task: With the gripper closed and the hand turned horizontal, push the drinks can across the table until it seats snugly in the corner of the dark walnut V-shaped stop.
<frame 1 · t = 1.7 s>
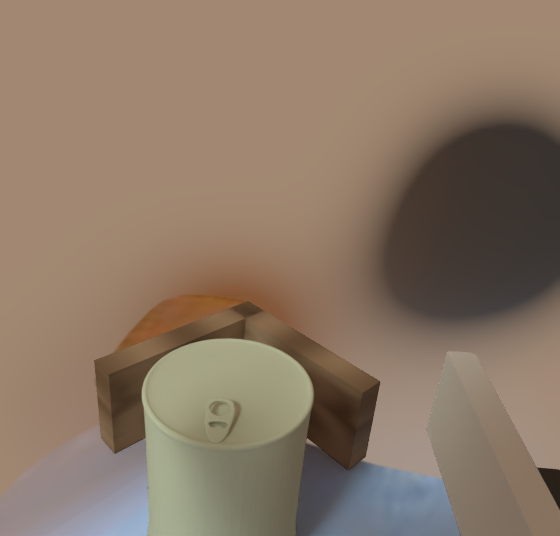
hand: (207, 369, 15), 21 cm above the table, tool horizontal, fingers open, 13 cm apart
v stop: (234, 440, 41), on the table
can: (222, 534, 34), on the table
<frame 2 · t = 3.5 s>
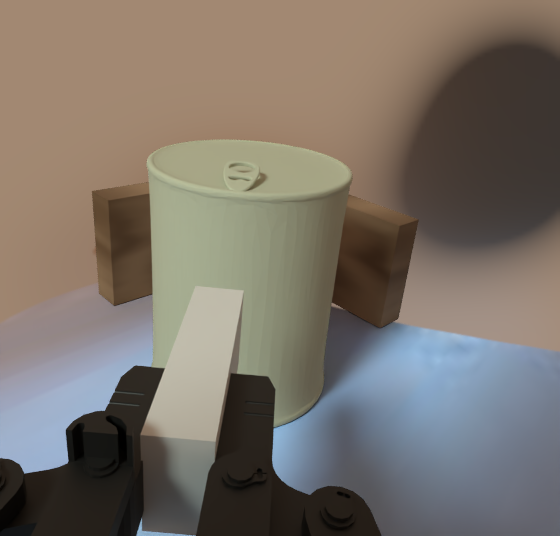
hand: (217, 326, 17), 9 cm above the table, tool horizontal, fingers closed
v stop: (250, 300, 36), on the table
can: (238, 375, 29), on the table
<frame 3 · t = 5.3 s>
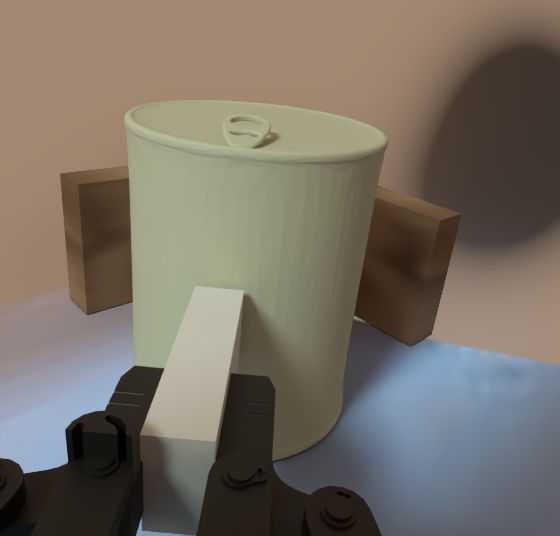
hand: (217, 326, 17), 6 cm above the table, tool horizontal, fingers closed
v stop: (252, 310, 30), on the table
can: (238, 390, 24), on the table, touching gripper
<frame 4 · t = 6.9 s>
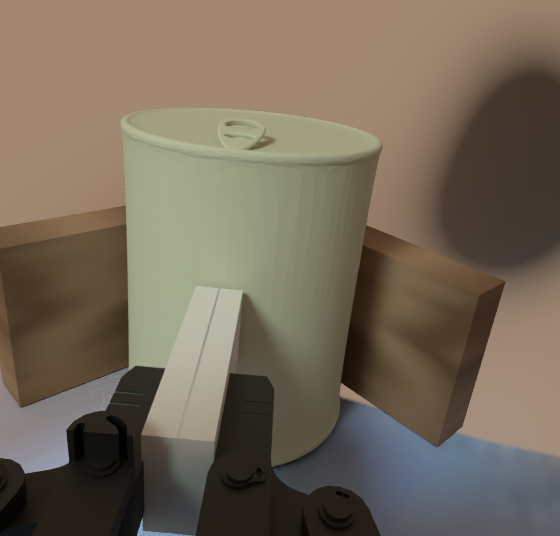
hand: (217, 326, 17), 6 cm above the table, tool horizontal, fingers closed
v stop: (235, 394, 24), on the table
can: (234, 398, 24), on the table, touching gripper, v stop
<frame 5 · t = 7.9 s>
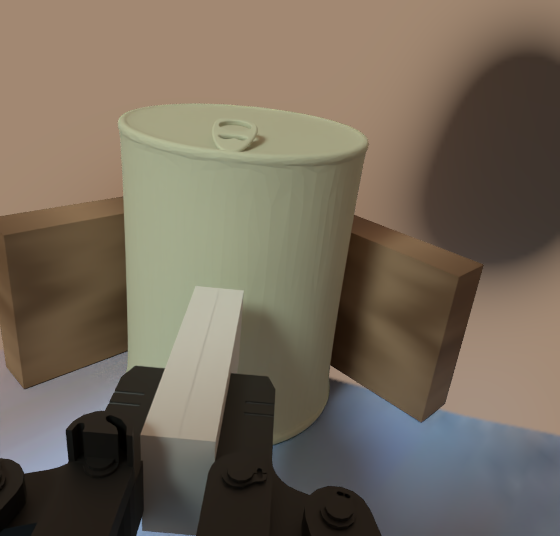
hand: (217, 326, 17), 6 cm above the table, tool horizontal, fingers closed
v stop: (229, 375, 25), on the table
can: (229, 382, 25), on the table
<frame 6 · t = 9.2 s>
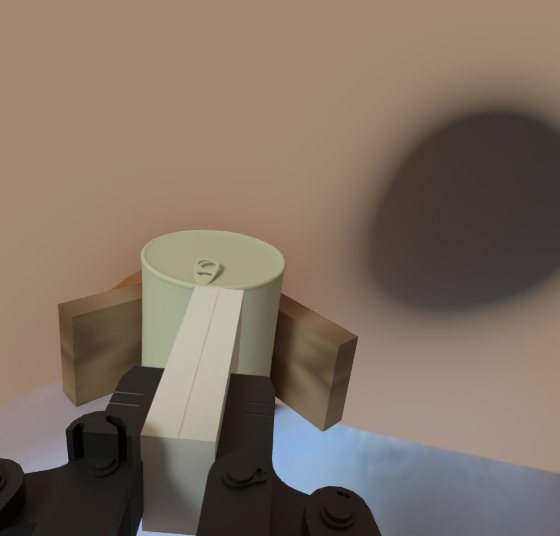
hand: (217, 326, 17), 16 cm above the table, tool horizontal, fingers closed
v stop: (204, 399, 39), on the table
can: (204, 403, 39), on the table
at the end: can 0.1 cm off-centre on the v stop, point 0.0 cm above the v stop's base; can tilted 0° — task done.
